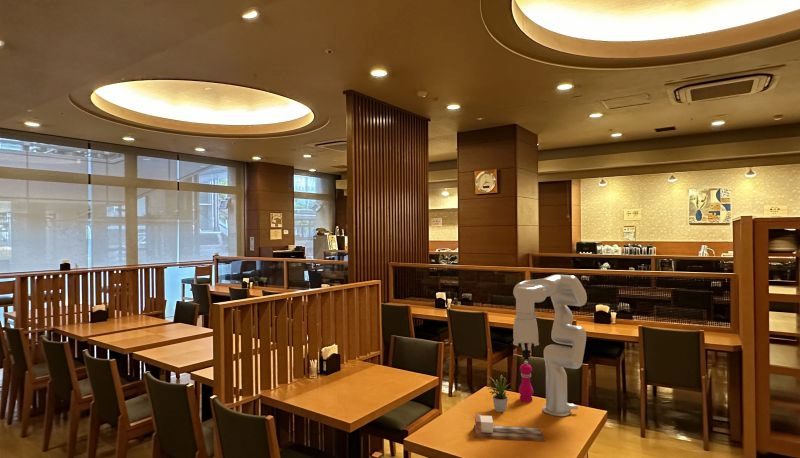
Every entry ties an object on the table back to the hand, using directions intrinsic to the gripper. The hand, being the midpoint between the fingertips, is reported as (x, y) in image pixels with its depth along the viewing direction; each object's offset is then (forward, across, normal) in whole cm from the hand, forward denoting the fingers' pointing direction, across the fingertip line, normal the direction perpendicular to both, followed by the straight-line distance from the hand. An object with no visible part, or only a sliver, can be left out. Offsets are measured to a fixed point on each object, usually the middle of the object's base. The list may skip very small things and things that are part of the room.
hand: (526, 358), depth 193 cm
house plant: (+32, +10, -25) cm, 42 cm away
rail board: (+31, +9, +3) cm, 33 cm away
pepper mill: (+33, -4, -39) cm, 51 cm away
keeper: (+30, +18, +3) cm, 34 cm away
